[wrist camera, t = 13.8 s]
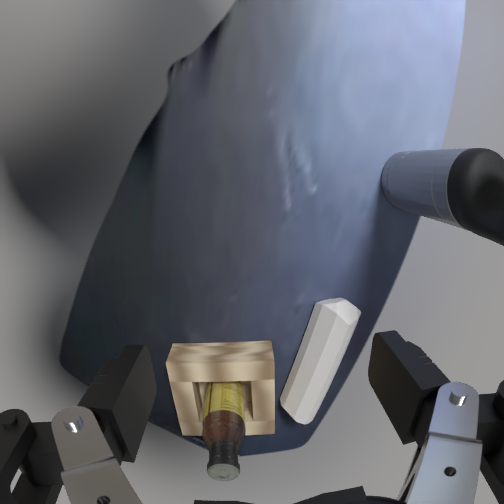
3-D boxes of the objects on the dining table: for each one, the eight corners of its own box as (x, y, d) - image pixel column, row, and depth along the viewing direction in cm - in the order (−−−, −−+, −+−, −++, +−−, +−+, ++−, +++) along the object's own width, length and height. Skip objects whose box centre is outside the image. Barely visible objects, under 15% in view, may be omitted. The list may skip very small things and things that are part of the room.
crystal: (325, 423, 51) (379, 308, 46) (297, 434, 47) (351, 311, 42) (301, 400, 57) (346, 289, 52) (273, 407, 53) (316, 289, 48)
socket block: (270, 340, 51) (274, 360, 45) (271, 411, 55) (274, 433, 49) (173, 343, 50) (165, 363, 44) (186, 413, 54) (182, 435, 48)
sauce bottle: (222, 403, 52) (217, 491, 33) (199, 381, 51) (184, 471, 32) (252, 386, 52) (257, 477, 32) (228, 363, 50) (224, 454, 31)
